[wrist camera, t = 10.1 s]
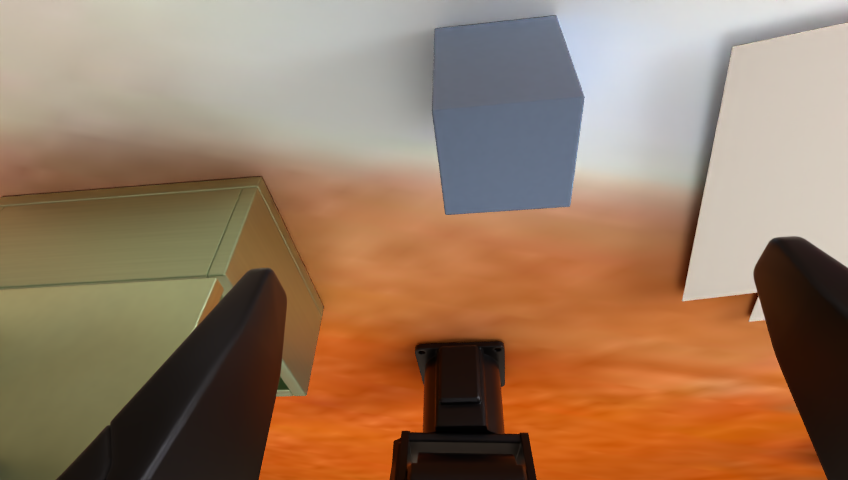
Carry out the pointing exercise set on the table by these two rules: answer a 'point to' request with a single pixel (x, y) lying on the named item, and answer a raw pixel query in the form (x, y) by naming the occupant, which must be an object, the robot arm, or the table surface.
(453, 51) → the blue-grey block
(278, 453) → the table surface
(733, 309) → the table surface
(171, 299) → the bin lid
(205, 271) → the waste bin
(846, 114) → the paper stack
